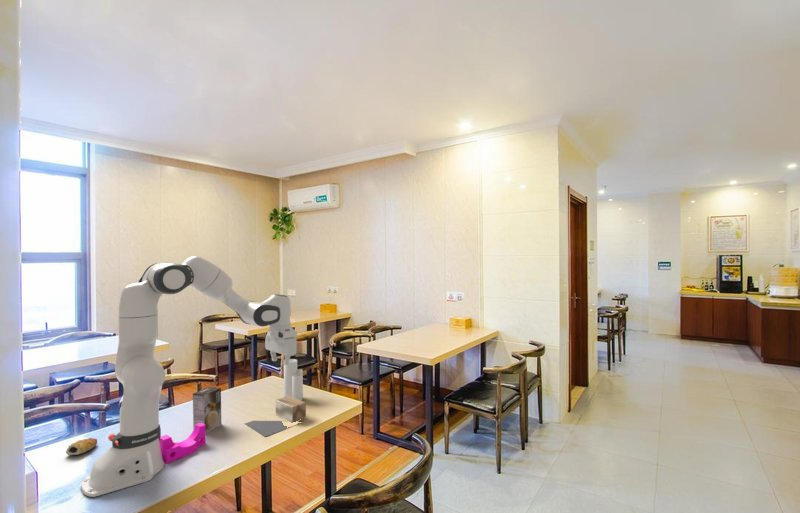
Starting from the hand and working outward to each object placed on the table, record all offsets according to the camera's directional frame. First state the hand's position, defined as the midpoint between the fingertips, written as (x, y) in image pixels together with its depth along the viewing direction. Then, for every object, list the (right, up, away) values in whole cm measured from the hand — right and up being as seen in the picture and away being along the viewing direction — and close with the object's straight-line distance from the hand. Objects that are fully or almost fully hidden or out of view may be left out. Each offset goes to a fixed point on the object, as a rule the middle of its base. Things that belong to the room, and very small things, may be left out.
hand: (280, 362), depth 168 cm
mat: (+2, -26, +2) cm, 26 cm away
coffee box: (-28, -26, -7) cm, 39 cm away
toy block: (-27, -26, -26) cm, 46 cm away
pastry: (-63, -27, -23) cm, 73 cm away
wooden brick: (+1, -22, +1) cm, 22 cm away
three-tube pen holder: (0, -26, +23) cm, 35 cm away
